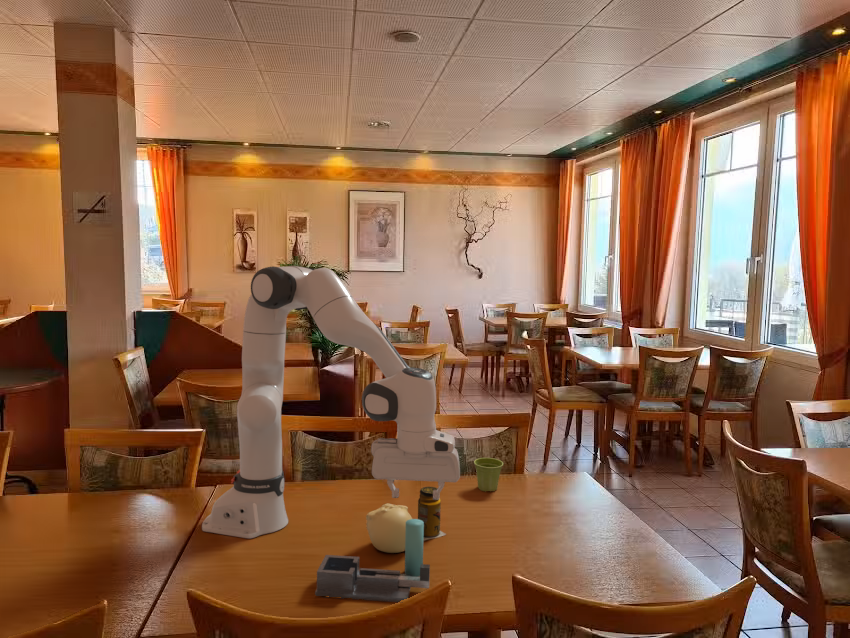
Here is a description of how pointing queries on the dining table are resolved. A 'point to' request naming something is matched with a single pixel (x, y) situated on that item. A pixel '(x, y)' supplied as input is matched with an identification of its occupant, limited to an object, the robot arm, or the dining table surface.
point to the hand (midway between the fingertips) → (415, 498)
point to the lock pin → (414, 578)
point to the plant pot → (488, 473)
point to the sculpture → (388, 527)
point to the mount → (357, 581)
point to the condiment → (429, 513)
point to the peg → (414, 546)
